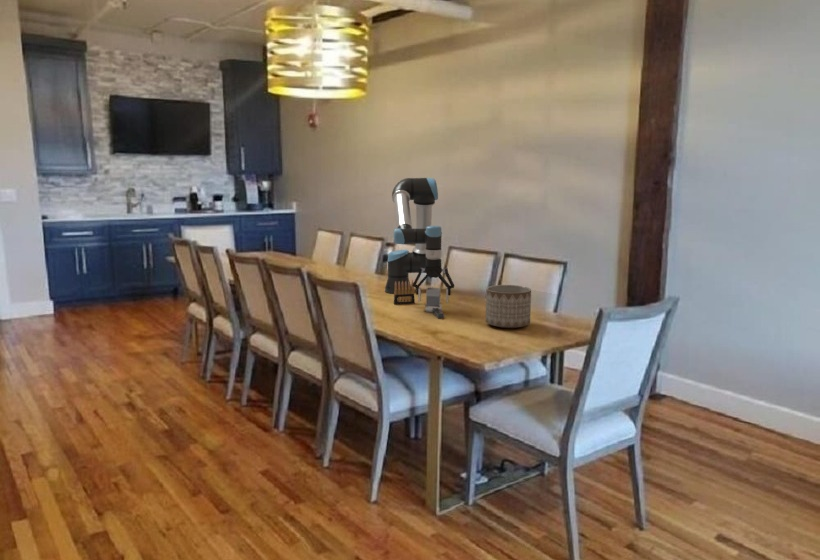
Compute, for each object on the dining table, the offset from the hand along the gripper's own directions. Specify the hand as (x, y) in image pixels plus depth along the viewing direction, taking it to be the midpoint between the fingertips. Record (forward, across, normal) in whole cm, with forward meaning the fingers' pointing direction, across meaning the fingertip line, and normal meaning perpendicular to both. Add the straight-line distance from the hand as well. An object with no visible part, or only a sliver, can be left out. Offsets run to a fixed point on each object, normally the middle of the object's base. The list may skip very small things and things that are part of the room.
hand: (433, 301), depth 299 cm
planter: (+5, +36, -23) cm, 43 cm away
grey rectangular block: (+2, 0, 0) cm, 2 cm away
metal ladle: (+5, +2, -6) cm, 8 cm away
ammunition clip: (+5, -17, +15) cm, 23 cm away
